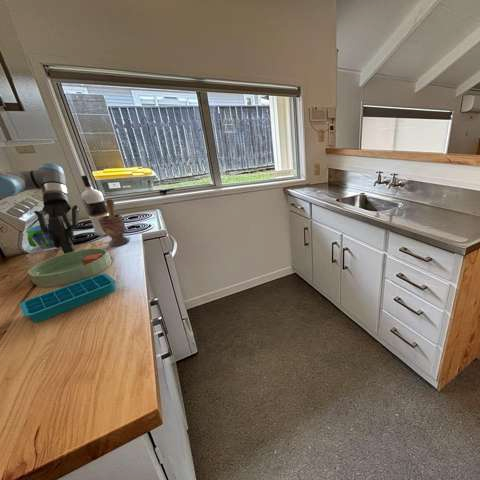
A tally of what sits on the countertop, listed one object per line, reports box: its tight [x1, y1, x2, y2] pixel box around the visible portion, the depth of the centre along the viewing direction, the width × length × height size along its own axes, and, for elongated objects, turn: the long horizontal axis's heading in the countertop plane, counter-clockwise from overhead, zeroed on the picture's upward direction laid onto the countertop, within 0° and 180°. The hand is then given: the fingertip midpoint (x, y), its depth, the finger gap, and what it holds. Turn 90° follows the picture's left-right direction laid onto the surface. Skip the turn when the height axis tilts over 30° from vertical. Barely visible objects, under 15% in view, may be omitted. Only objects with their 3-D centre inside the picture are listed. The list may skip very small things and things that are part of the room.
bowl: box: [27, 247, 113, 288], centre depth 94 cm, size 22×22×5 cm
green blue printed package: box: [25, 223, 55, 249], centre depth 119 cm, size 16×10×10 cm
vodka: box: [80, 175, 109, 237], centre depth 130 cm, size 9×9×30 cm
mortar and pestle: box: [98, 198, 130, 247], centre depth 118 cm, size 12×9×20 cm
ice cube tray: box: [19, 272, 117, 323], centre depth 77 cm, size 12×20×3 cm, turn 143°
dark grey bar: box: [47, 216, 77, 254], centre depth 102 cm, size 3×3×16 cm
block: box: [82, 254, 102, 265], centre depth 96 cm, size 4×4×4 cm
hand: (63, 245), depth 100 cm, fingers closed on dark grey bar, 3 cm apart
